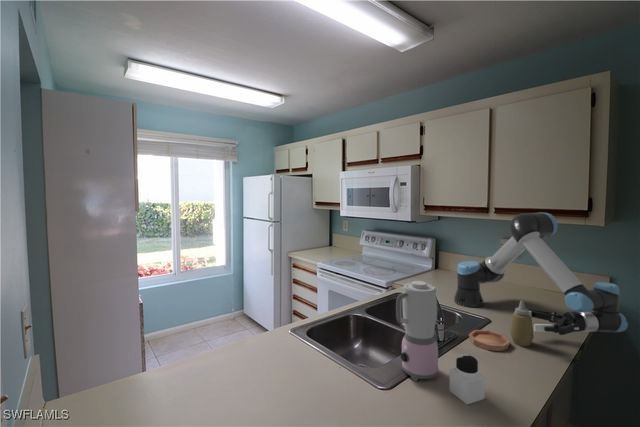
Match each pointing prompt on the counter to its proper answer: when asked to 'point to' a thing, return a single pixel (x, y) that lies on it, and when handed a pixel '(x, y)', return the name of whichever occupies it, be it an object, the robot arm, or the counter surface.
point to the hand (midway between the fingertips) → (524, 320)
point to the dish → (489, 340)
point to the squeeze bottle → (522, 326)
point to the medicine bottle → (467, 380)
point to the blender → (418, 329)
